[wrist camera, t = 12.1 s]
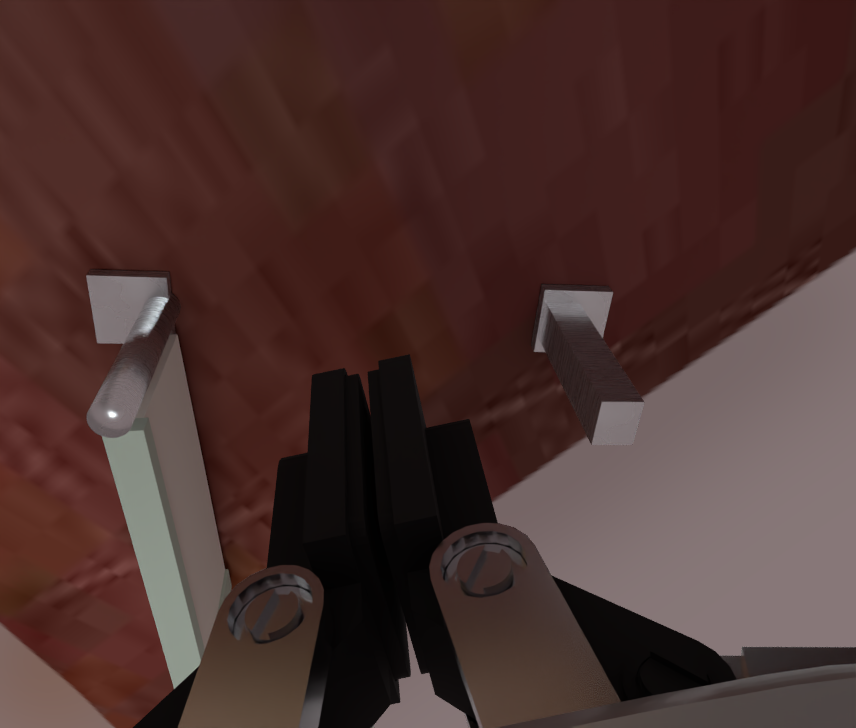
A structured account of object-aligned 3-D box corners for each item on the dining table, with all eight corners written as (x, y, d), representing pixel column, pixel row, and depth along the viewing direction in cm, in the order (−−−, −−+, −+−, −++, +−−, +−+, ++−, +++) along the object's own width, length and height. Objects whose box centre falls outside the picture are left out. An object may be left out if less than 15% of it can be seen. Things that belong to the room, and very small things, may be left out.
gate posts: (101, 336, 40) (29, 458, 31) (90, 269, 38) (10, 378, 29) (595, 346, 44) (664, 458, 35) (608, 286, 42) (686, 387, 33)
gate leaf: (147, 335, 40) (101, 433, 32) (181, 334, 40) (143, 430, 32) (204, 588, 49) (180, 708, 42) (231, 586, 50) (212, 705, 42)
